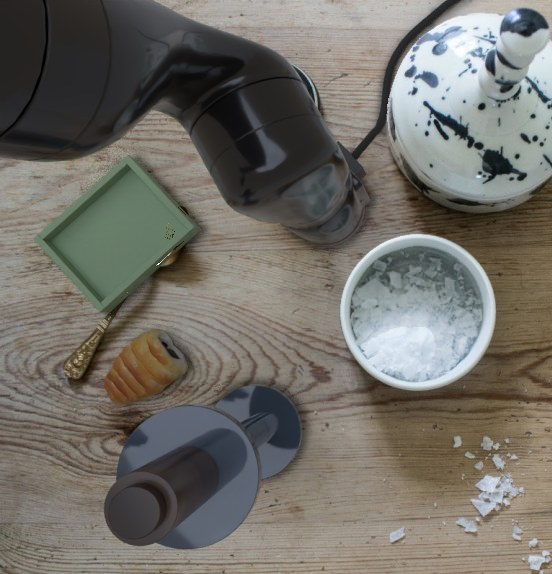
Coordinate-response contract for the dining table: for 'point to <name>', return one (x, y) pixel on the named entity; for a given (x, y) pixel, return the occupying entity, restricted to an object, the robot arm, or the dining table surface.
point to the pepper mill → (160, 495)
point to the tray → (116, 234)
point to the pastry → (144, 368)
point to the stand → (221, 454)
